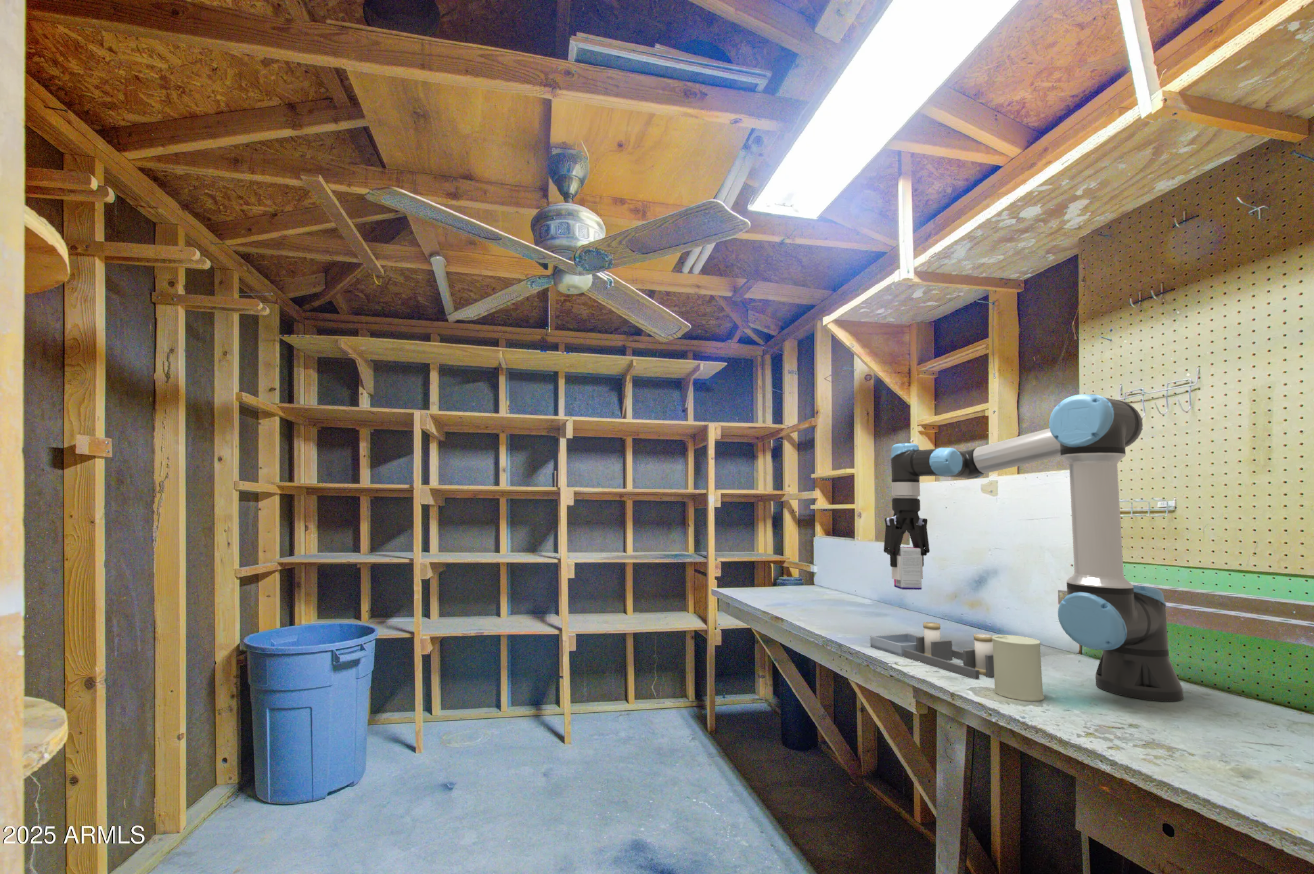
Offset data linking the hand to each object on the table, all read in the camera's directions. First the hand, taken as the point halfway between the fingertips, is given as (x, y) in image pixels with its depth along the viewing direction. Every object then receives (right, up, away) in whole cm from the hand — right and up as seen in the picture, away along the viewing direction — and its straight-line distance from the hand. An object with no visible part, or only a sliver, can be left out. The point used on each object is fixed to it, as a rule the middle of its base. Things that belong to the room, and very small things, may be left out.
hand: (907, 578), depth 171 cm
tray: (-1, -20, -1) cm, 20 cm away
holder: (+6, -18, -17) cm, 26 cm away
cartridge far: (+3, -19, -10) cm, 22 cm away
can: (+7, -15, -41) cm, 45 cm away
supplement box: (0, -3, 0) cm, 3 cm away
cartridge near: (+9, -17, -25) cm, 31 cm away
